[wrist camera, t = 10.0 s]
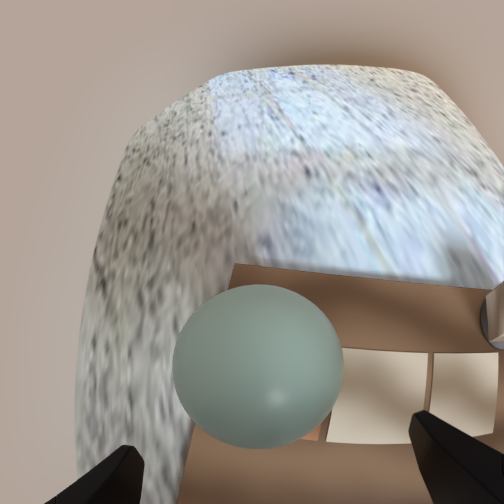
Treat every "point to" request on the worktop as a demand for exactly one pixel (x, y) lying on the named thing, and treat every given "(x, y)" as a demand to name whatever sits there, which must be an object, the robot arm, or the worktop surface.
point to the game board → (369, 394)
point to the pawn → (258, 366)
